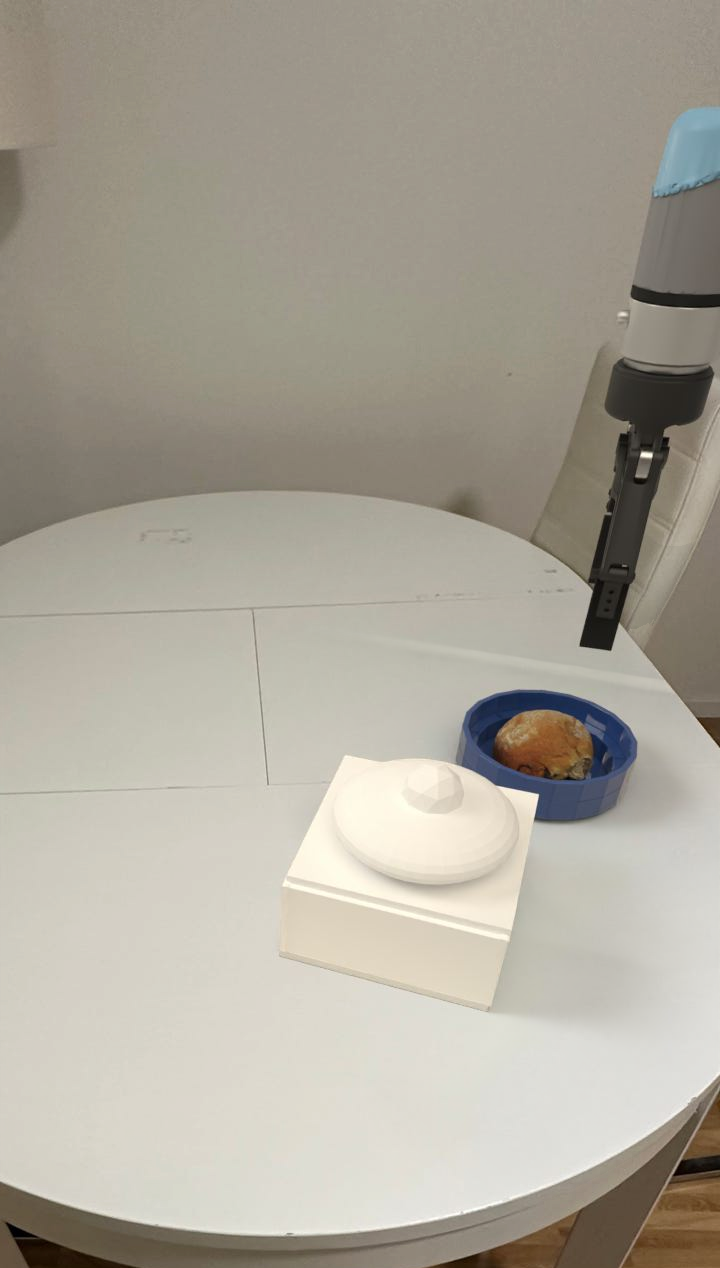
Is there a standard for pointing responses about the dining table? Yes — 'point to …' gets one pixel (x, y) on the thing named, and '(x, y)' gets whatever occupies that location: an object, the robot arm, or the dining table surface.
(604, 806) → the bowl
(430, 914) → the white lidded square jar
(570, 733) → the bread roll
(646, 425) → the robot arm
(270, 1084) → the dining table surface
